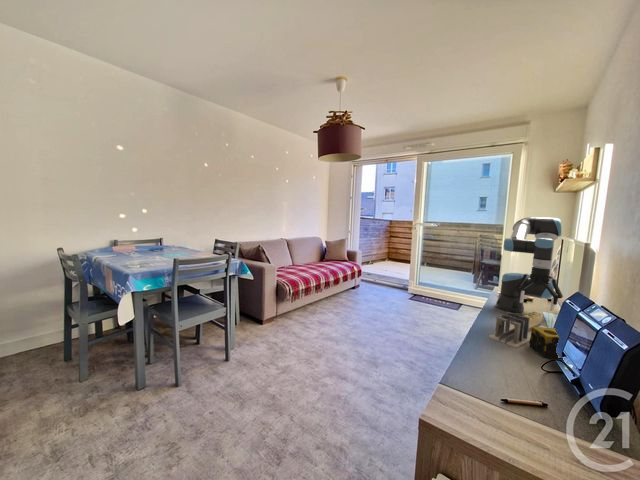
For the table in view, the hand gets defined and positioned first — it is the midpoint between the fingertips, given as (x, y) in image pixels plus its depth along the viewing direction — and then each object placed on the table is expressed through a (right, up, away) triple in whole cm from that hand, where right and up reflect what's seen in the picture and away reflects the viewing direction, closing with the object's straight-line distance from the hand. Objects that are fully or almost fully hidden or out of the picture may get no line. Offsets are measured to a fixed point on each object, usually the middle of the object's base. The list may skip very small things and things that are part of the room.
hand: (536, 306), depth 148 cm
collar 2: (-18, -13, -10) cm, 24 cm away
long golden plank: (-6, -9, -3) cm, 11 cm away
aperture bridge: (-27, -13, -16) cm, 33 cm away
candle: (-15, -15, -26) cm, 33 cm away
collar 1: (-23, -13, -13) cm, 30 cm away
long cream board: (-13, -12, -7) cm, 19 cm away
